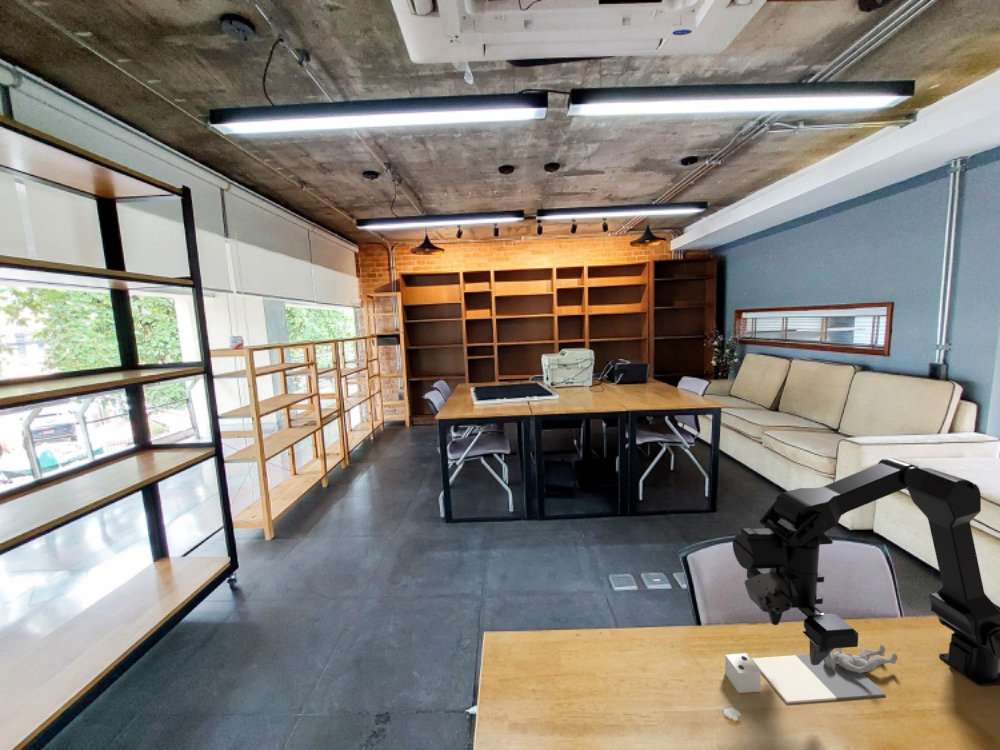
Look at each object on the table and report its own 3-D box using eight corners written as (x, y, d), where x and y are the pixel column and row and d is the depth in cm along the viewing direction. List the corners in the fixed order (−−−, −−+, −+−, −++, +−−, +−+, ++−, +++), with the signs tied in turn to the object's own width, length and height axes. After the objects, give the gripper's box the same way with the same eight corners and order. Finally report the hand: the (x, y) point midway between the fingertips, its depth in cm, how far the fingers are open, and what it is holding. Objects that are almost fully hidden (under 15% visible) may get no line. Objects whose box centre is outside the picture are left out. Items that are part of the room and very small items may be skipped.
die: (745, 672, 74) (746, 652, 74) (760, 691, 70) (760, 671, 70) (724, 673, 74) (725, 654, 74) (738, 693, 70) (739, 672, 70)
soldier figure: (914, 665, 70) (845, 654, 70) (912, 693, 70) (843, 681, 70) (874, 638, 78) (812, 628, 78) (872, 663, 77) (810, 653, 78)
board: (839, 654, 78) (839, 652, 77) (885, 696, 69) (885, 694, 69) (751, 660, 77) (751, 658, 77) (786, 703, 68) (786, 701, 68)
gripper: (722, 539, 79) (720, 609, 81) (795, 603, 60) (790, 693, 62) (775, 536, 79) (772, 606, 81) (864, 598, 61) (857, 688, 63)
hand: (793, 643), depth 72 cm, fingers open, 9 cm apart
